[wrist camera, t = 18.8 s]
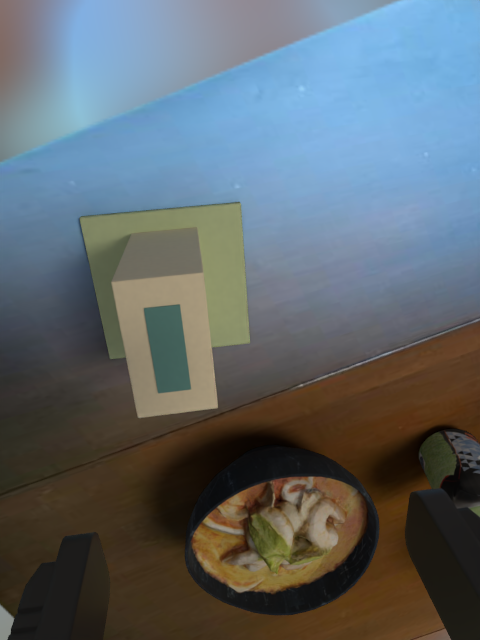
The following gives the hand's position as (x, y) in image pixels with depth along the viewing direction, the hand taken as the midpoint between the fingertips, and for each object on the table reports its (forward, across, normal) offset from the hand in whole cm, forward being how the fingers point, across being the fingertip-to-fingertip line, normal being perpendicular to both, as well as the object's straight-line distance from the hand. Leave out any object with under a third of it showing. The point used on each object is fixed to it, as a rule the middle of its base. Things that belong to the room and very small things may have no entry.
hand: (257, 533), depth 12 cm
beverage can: (+27, -22, +24) cm, 42 cm away
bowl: (+27, -4, +25) cm, 37 cm away
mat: (+27, +3, +3) cm, 27 cm away
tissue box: (+26, +3, +3) cm, 27 cm away
